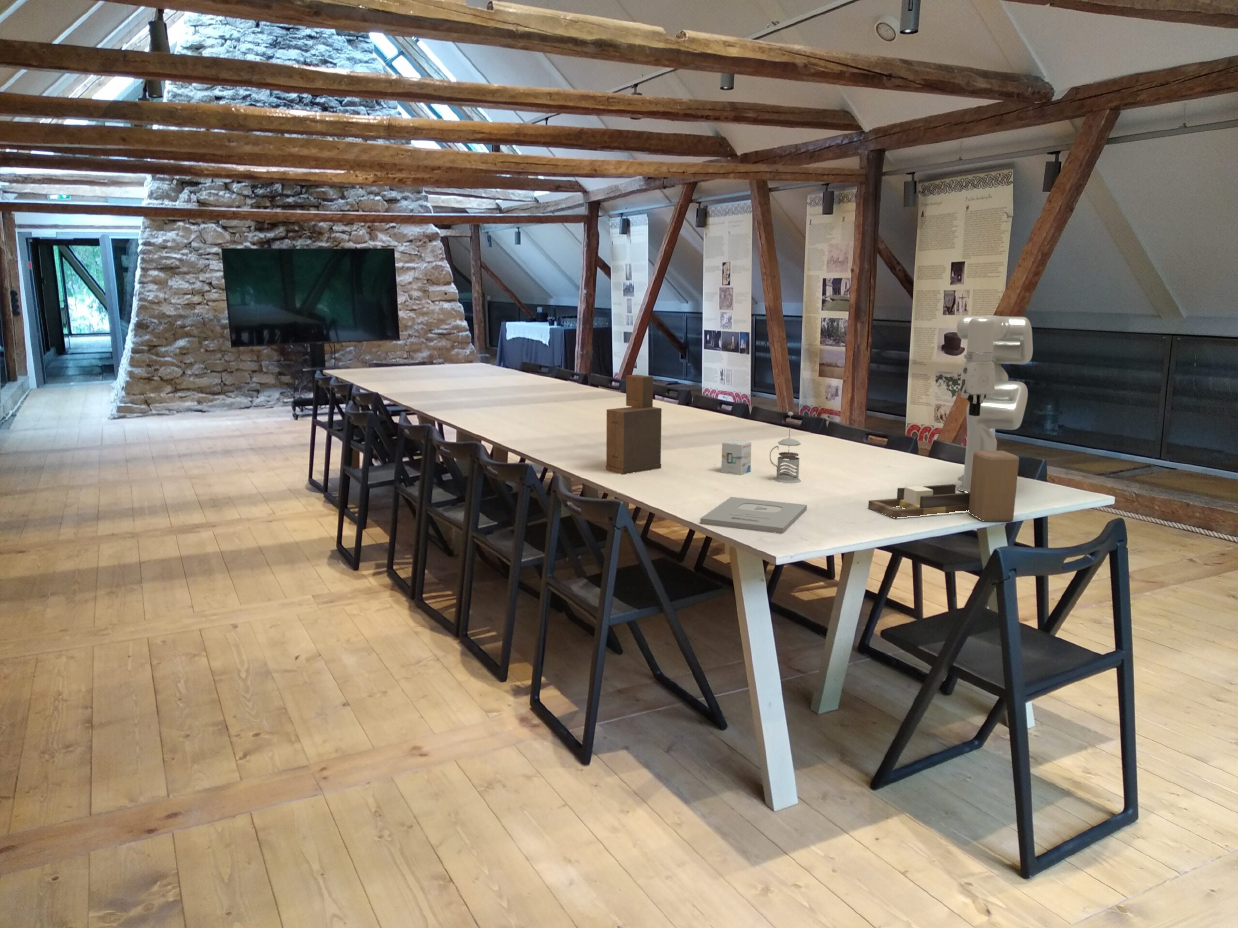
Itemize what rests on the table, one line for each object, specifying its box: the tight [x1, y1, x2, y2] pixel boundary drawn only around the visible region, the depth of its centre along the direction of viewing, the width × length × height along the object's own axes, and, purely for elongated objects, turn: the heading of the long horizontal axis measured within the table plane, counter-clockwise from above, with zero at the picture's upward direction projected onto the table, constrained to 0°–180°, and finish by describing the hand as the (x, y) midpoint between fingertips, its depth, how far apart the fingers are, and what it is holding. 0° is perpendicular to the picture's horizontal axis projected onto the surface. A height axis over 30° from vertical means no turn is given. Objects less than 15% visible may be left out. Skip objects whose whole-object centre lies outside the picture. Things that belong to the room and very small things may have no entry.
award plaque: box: [699, 496, 808, 534], centre depth 261 cm, size 25×30×2 cm
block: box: [969, 450, 1020, 522], centre depth 259 cm, size 10×10×20 cm
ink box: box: [720, 439, 752, 476], centre depth 324 cm, size 8×8×12 cm
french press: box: [769, 411, 802, 484], centre depth 310 cm, size 10×12×25 cm
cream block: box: [904, 485, 933, 505], centre depth 268 cm, size 6×6×4 cm
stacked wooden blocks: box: [605, 374, 662, 475], centre depth 328 cm, size 19×14×35 cm
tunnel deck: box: [867, 483, 970, 518], centre depth 270 cm, size 14×35×6 cm, turn 108°
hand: (974, 415), depth 274 cm, fingers closed
